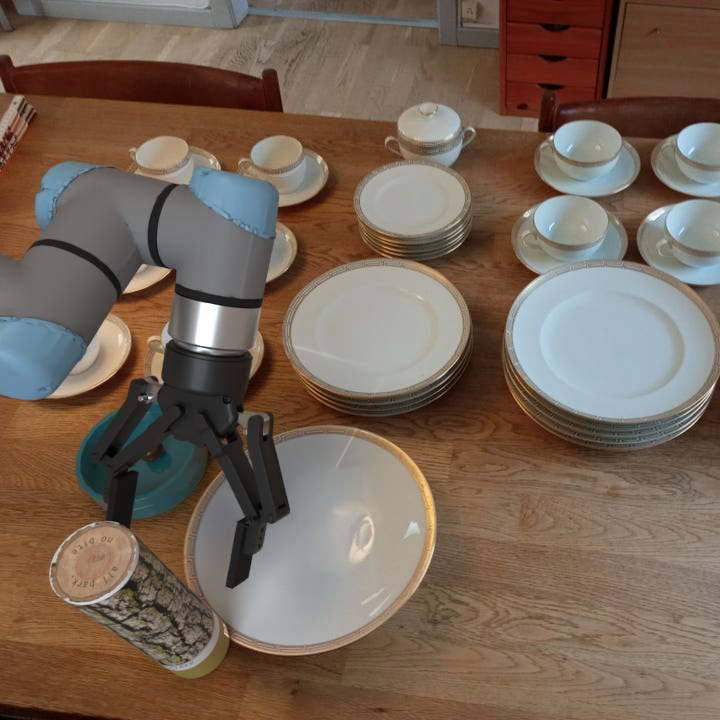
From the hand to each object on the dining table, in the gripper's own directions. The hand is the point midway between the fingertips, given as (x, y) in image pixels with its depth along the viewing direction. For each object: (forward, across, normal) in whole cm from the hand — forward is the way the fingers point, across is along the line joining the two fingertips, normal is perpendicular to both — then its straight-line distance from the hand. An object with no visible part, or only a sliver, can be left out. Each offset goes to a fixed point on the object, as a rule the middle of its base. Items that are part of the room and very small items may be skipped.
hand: (175, 559), depth 70 cm
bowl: (+1, +18, -19) cm, 26 cm away
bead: (-1, +18, -18) cm, 26 cm away
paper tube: (+13, 0, -7) cm, 15 cm away
